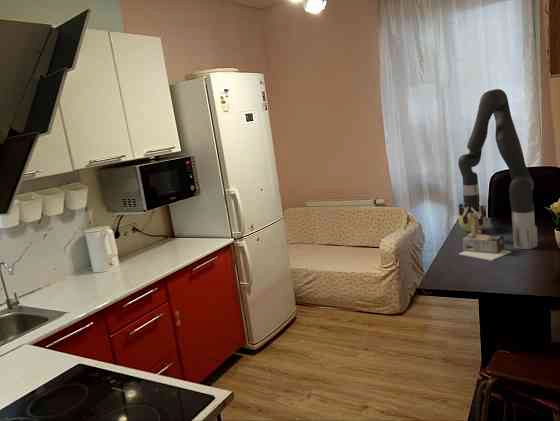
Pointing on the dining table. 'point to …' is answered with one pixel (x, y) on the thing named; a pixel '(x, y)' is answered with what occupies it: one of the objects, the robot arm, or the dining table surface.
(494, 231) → the dining table surface
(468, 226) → the cantaloupe
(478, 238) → the coffee box
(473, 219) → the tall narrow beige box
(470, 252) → the mat
